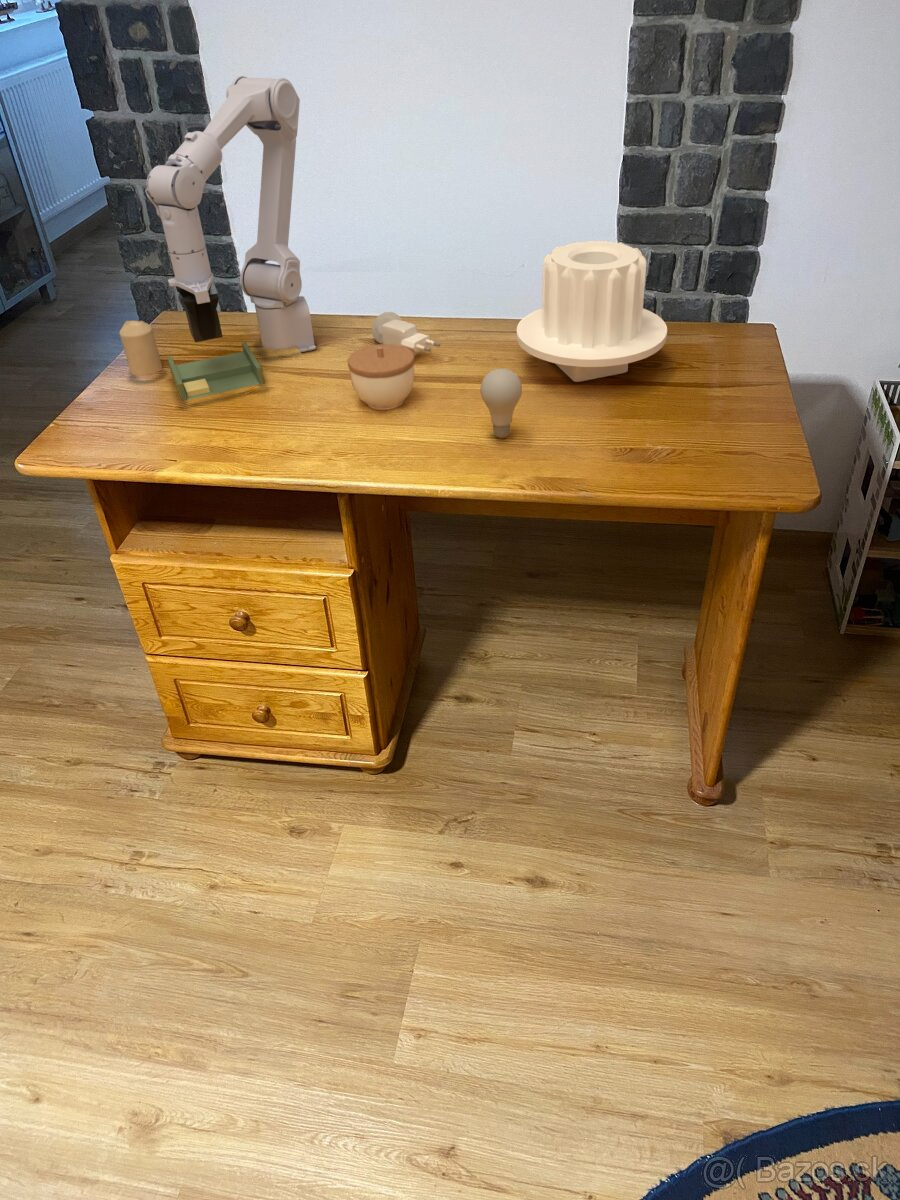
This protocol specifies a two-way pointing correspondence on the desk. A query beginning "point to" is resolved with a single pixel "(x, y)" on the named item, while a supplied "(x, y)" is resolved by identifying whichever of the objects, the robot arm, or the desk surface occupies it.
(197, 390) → the note pad
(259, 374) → the shelf
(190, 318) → the holder
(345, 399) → the desk surface
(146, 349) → the candle
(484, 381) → the lightbulb
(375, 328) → the grey rounded piece
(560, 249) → the flanged gear
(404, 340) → the power adapter
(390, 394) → the trinket box
